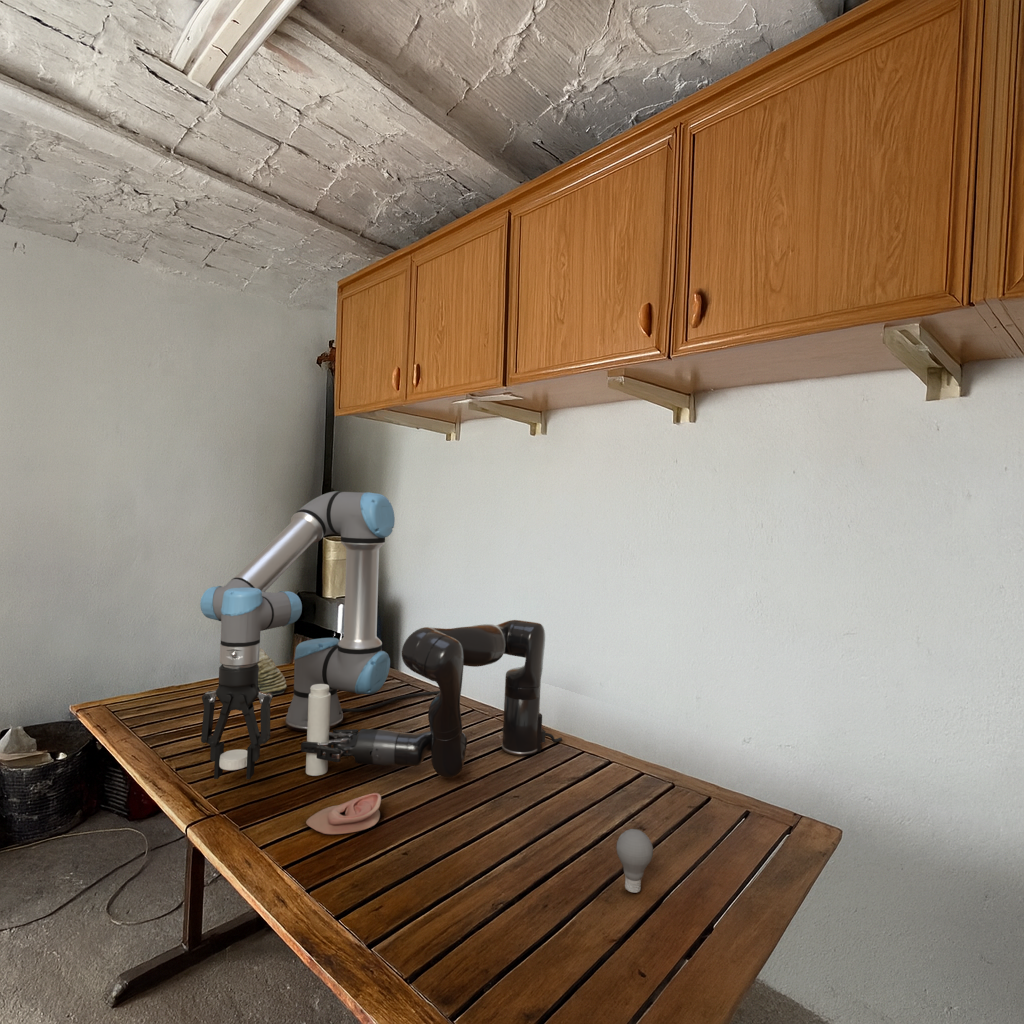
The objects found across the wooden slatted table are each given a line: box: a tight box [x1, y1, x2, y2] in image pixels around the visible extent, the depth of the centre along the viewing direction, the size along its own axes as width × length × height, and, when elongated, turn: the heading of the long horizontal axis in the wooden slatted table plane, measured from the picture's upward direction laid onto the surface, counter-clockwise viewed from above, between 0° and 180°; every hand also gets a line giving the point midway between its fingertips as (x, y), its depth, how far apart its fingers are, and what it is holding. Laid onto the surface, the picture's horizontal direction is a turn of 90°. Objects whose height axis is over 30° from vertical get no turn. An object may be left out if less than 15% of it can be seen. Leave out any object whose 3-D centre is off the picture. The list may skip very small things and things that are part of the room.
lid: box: [219, 748, 248, 771], centre depth 130 cm, size 6×6×2 cm
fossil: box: [257, 647, 288, 696], centre depth 198 cm, size 9×18×15 cm, turn 132°
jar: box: [305, 684, 331, 777], centre depth 146 cm, size 5×5×20 cm
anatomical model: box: [305, 792, 382, 835], centre depth 124 cm, size 13×4×12 cm
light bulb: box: [615, 828, 654, 894], centre depth 106 cm, size 6×6×10 cm
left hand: (234, 776), depth 130 cm, fingers closed on lid, 6 cm apart
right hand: (306, 742), depth 146 cm, fingers closed on jar, 5 cm apart
